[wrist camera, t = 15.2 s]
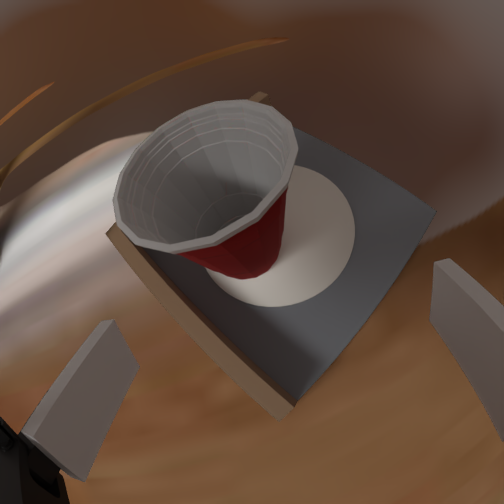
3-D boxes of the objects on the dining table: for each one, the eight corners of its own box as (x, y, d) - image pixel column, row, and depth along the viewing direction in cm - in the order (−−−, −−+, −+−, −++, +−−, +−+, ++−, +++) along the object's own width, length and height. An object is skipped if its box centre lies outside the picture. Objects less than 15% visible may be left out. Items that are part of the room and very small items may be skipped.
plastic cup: (254, 174, 28) (218, 75, 17) (335, 247, 23) (345, 146, 12) (167, 245, 27) (89, 172, 16) (234, 335, 22) (157, 301, 11)
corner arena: (129, 251, 29) (105, 233, 25) (266, 118, 32) (259, 91, 28) (285, 411, 20) (279, 422, 16) (434, 215, 23) (449, 189, 19)
